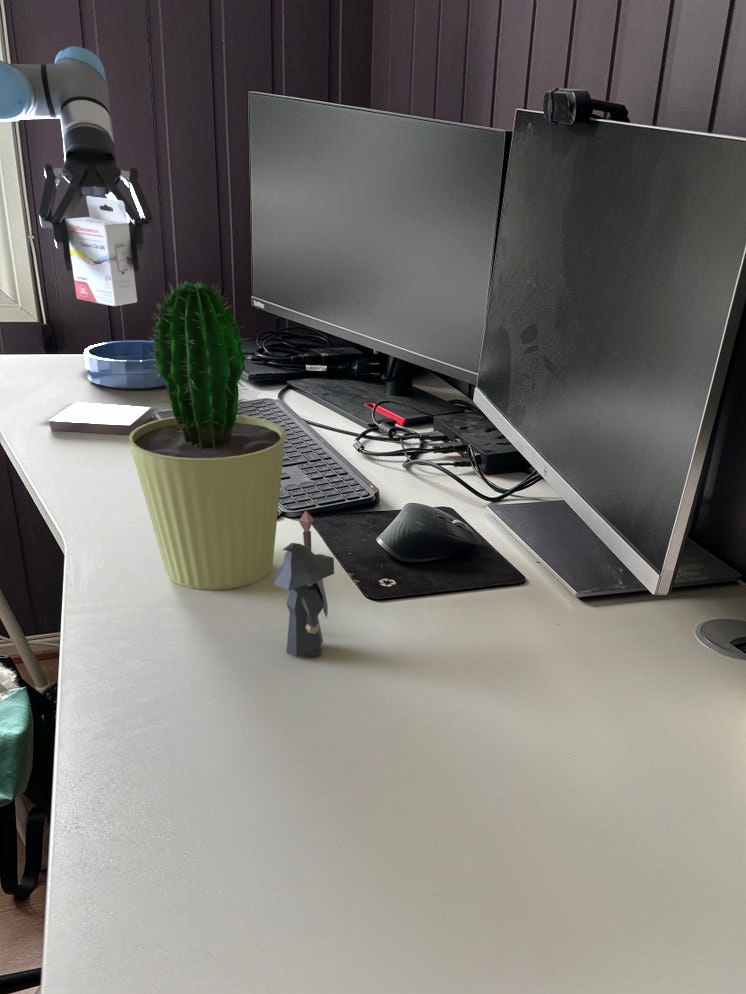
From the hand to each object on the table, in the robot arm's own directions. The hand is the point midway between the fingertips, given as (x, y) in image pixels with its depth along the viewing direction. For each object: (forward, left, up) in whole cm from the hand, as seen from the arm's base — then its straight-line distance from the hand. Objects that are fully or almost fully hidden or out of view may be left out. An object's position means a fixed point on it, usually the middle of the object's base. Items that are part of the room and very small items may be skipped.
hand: (102, 265), depth 145 cm
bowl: (-3, +18, -22) cm, 28 cm away
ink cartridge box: (-1, +3, -6) cm, 7 cm away
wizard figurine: (+44, -74, -22) cm, 89 cm away
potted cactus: (+32, -58, -22) cm, 70 cm away
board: (+1, -9, -22) cm, 24 cm away
